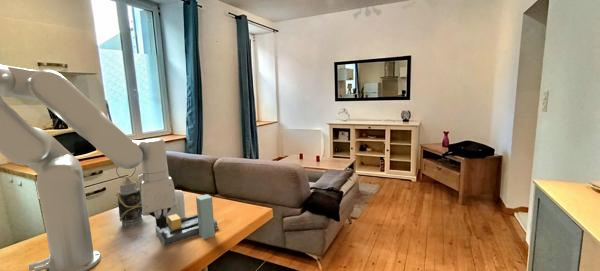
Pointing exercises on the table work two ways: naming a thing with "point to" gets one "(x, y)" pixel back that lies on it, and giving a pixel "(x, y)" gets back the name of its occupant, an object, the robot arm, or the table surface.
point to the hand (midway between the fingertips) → (161, 227)
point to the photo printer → (179, 208)
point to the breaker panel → (180, 230)
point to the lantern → (129, 203)
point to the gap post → (205, 216)
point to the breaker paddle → (174, 222)
